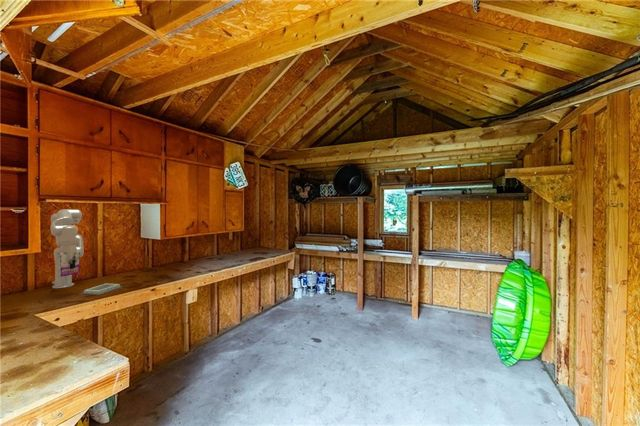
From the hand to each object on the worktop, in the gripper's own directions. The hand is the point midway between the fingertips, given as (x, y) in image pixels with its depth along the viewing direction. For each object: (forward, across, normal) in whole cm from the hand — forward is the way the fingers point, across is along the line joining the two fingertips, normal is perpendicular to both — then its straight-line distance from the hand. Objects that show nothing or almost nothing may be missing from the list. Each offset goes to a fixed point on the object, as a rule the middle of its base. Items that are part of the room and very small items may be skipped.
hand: (68, 268), depth 188 cm
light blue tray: (+20, +14, +14) cm, 28 cm away
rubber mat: (+20, +14, +14) cm, 28 cm away
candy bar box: (+5, 0, 0) cm, 5 cm away
